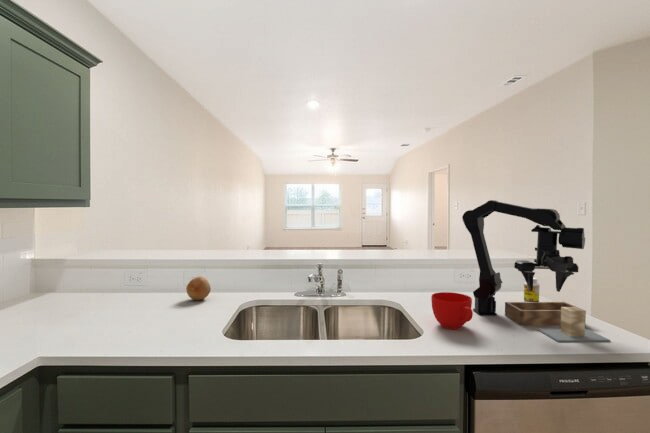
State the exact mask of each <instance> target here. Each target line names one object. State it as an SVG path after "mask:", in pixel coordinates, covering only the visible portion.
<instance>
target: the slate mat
mask: <svg viewBox="0 0 650 433" xmlns="http://www.w3.org/2000/svg"><path fill="white" fill-rule="evenodd" d="M537 331H538V332H540V333H542V334H543V335H544V336H547V337H549V338H551V340H553V341H555V342H557V343H585V342H586V343H588V342H589V343H591V342H592V343H593V342H594V343H595V342H596V343H597V342H598V343H603V342H604V343H606V342H607V343H608V342H611V340H610V339H609V338H607V337H605V336H603V335H601V334H598V332H597V333H596V332H595V331H593V330H591V329H588V328H586V327H585V337H570V336H568V335H566V334H564V333H562V332H561V328H537Z"/></svg>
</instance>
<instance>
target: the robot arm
mask: <svg viewBox="0 0 650 433" xmlns="http://www.w3.org/2000/svg"><path fill="white" fill-rule="evenodd" d="M494 212H496V213H501V214H505V215H510V216H514V217H518V218H524V219H526V220H529V221H530V222H533V223H535V224H537V225H535V226H534V227H533V228H532V229H531V230H530V231H531V232H533V233H537V242H536V243H537V244H536V247H534V251H536V258H534V259H533V260H534V262H532V261H529V260H523V259H522V260H515V262H514V266H513V267H514V269H516V270H518V272H520V273H521V274H522V276H523V277H524V281H525V282H526V283H527V285H528V288H529V290H530V291H532V290H533V277H534V276H535V274H536V272H534V271H535V270H538V269H539V270H550V271H551V272H555V273H554V274H555V289H556V292H558V293H559V292H561V289H562V287H563V286H564V284H565V283H566V281H567V279H568V278H569V277H570V276H572V275H573V276H574V275H575V273H579V265H578V264H577V263H575V262H574V258H573V257H572V256H571V255H569V256H567V255H566V256H561V254H560V253H561V252H560V250H559V249H557V248H558V247H557V246H558V245H561V247H562V248H567V249H577V250H584V249H585V244H586V237H585V227H566V225H565V223H564V222H562V220H561V216H560V213H559V212H558V210H556V209H554V208H542V207H541V208H537V207H534V208H533V207H527V206H521V205H517V204H512V203H506V202H502V201H498V200H496V199H495V200H494V199H493V200H492V199H491V200H488V201H486V202H485V203H483V204H481V205H479V206H477V207H476V208H474V209H469V210H466V211H465V212H464V213H463V214H462V217H461V219H462V222H463V224H464V226H465V229H466V230H467V232H468V233H469V234H470V236H471V237H470V238H471V241H472V245H473V249H474V253H475V256H476V261H477V264H478V269H479V274H478V275H479V278H478V283H479V286H478V288H476V289H475V290H474V291H472V294H473V297H474V308H472V311H474V312H475V313H476V314H478V315H479V316H487V315H488V316H490V315H491V316H497V312H496V311H497V301H496V298H495V296H496V293H497V292H499V291H500V290H501V289H502V284H503V281H502V278H501V273H500V272H496V271H495V270H494V268H493V265H492V261H491V257H490V253H489V249H488V246H487V241H486V238H485V234H484V229H485V218H487V217H488V216H490V215H491V214H493V213H494ZM541 226H543V227H541Z"/></svg>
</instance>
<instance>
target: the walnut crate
mask: <svg viewBox="0 0 650 433" xmlns="http://www.w3.org/2000/svg"><path fill="white" fill-rule="evenodd" d="M561 307H577V306H576V305H573V304H570V303H568V302H566V301H539V302H525V301H516V302H515V301H505V302H504V316H505V317H506V318H509V319H510V320H511V321H513V322H514V323H516V324H518V325H519V326H522V327H523V326H525V327H528V326H529V327H530V326H531V327H533V326H537V327H538V326H561ZM577 308H579V309H582V310H584V309H583V308H580V307H577ZM584 311H585V320H586V315H587V314H586V313H587V312H586V310H584Z"/></svg>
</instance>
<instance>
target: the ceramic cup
mask: <svg viewBox="0 0 650 433" xmlns="http://www.w3.org/2000/svg"><path fill="white" fill-rule="evenodd" d="M472 302H473V298H472V297H471V296H470V295H466V294H464V293H458V292H450V291H449V292H448V291H444V292H443V291H442V292H434V293H433V294H431V309H432V312H433V315H434V318H435V320H436V321H437V322H438V324H440V326H441V328H444V329H446V330H447V329H448V330H460V329H461V328H462V327H463V326H464V325H465V324H466V323H467V322H470V321H471V320H472V318H473V309H472V304H473V303H472Z"/></svg>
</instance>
